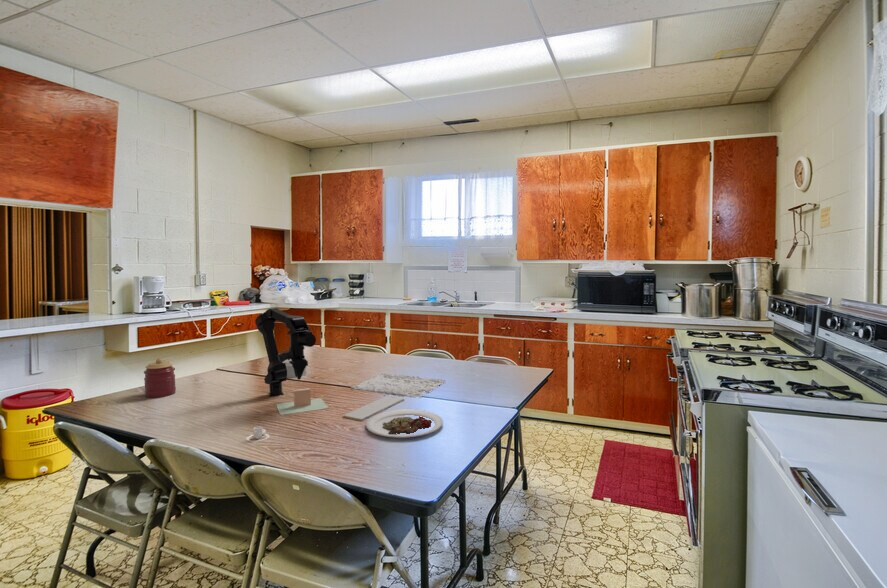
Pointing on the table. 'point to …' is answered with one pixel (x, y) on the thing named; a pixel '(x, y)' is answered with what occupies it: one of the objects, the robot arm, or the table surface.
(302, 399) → the tile
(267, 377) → the robot arm
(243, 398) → the table surface
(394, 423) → the plated food
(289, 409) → the mat
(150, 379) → the canister
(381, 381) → the carpet tile
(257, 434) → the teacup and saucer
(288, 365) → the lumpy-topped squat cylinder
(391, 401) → the baseboard
